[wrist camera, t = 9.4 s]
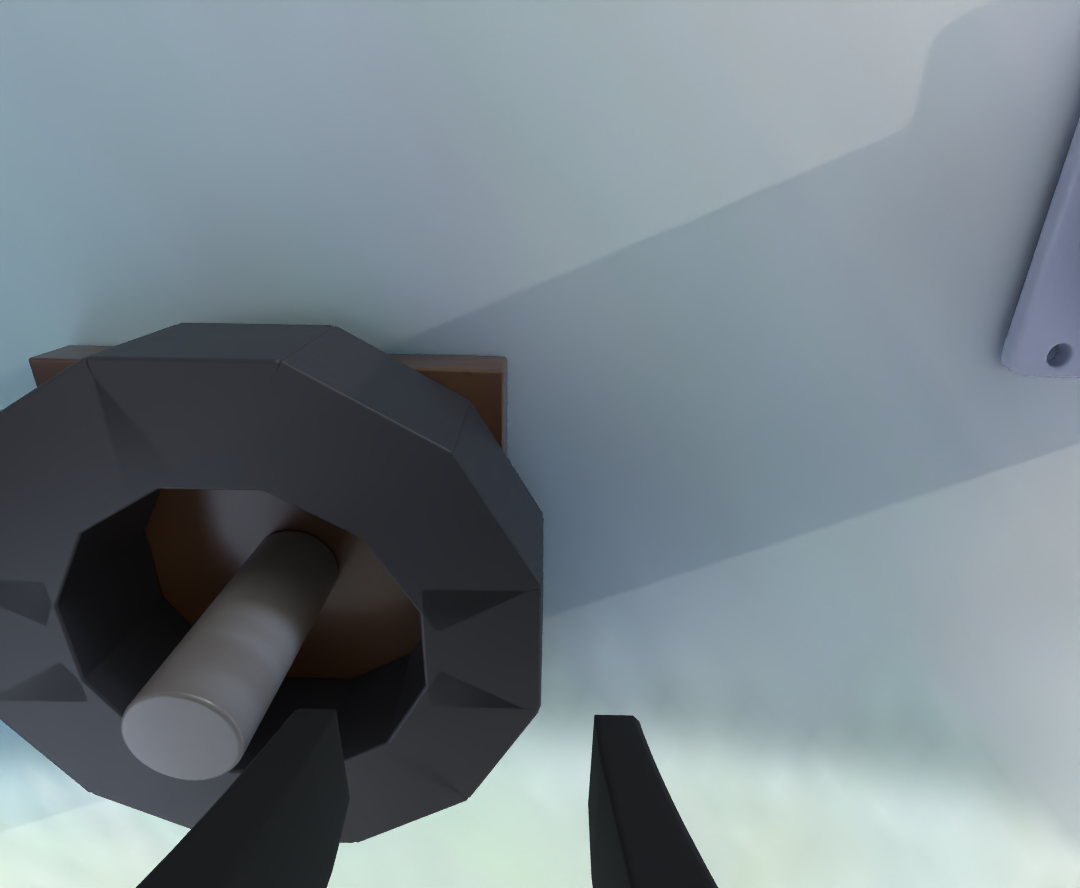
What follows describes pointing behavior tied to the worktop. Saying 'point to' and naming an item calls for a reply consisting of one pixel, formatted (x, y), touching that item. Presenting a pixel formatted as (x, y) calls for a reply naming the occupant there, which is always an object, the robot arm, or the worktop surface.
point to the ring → (304, 481)
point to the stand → (266, 597)
